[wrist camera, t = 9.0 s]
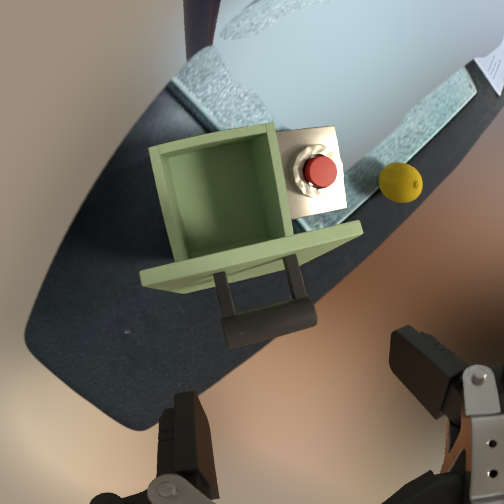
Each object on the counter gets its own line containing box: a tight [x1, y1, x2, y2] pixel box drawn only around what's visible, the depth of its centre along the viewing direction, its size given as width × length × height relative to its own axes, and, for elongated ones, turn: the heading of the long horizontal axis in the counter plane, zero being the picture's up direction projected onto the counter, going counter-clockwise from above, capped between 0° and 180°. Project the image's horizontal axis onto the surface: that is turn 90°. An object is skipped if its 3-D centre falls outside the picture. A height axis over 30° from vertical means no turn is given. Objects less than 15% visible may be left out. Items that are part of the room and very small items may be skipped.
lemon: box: [379, 162, 422, 203], centre depth 37 cm, size 6×6×8 cm
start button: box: [304, 156, 338, 187], centre depth 34 cm, size 4×4×2 cm
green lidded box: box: [148, 123, 293, 262], centre depth 32 cm, size 14×12×10 cm
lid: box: [139, 220, 363, 349], centre depth 22 cm, size 15×12×5 cm
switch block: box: [276, 126, 347, 220], centre depth 36 cm, size 11×8×4 cm
